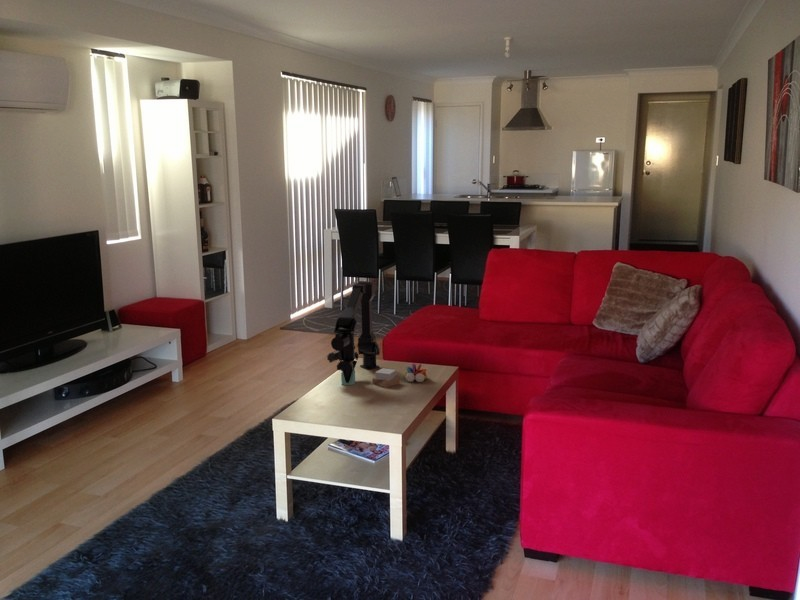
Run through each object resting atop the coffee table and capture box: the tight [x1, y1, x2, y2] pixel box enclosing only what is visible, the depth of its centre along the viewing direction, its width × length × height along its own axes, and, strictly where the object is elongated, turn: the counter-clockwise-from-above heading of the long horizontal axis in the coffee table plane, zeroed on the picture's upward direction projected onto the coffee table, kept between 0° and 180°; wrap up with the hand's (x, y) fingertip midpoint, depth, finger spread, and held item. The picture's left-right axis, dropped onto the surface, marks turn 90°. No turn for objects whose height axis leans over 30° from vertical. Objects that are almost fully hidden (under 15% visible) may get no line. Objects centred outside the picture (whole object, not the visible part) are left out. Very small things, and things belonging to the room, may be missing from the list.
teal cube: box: [340, 369, 356, 386], centre depth 295 cm, size 5×5×5 cm
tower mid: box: [374, 367, 397, 381], centre depth 294 cm, size 6×6×3 cm
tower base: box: [372, 376, 401, 389], centre depth 294 cm, size 8×8×3 cm
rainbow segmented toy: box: [404, 363, 428, 383], centre depth 298 cm, size 8×10×7 cm
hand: (348, 380), depth 296 cm, fingers closed on teal cube, 5 cm apart
